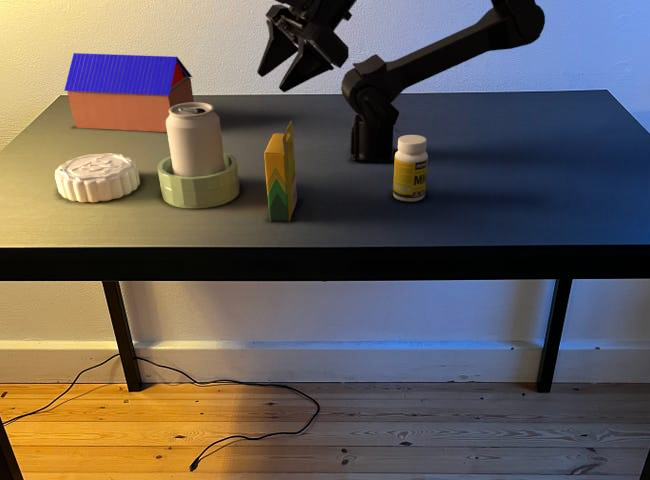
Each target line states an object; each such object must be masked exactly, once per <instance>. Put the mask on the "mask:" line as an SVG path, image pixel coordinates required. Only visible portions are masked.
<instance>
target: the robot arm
mask: <svg viewBox="0 0 650 480" xmlns="http://www.w3.org/2000/svg"><path fill="white" fill-rule="evenodd" d="M274 1H275V2H277V4H272V5H271V6H270V8H268V11H267V12H266V13H265V17H266V18H267V19H266V23H265V24H266V26H267V29H268V40H267V42H266V46H265V49H264V52H263V55H262V57H261V60H260V63H259V65H258V68H257V71H256V74H258V75H259V76H260V77H261V78H264V77H265V76H267V75H268V74H269V73H271V72H273V71H274V70H275V69H276V68H278V67H279V66H281V65H282V64H283V63H285V62H286V61H287V60H289V59H290V58H292V57H293V56H294V55H295V54H296V55H295V57H294V59H293V60H292V62H291V64H290V66H289V67H288V69H287V70H286V72H285V73H284V75H283V77H282V79H281V81H280V83H279V85H278V89H279V90H280V91H281V92H283V93H286V92H288V91H291V90H292V89H294V88H296V87H298V86H299V85H301V84H303V83H306V82H308V81H309V80H311V79H314V78H315V77H318V76H320V75H322V74H323V73H324V74H325V73H326V72H328V71H333V70H334V69H335V67H337V68H338V69H341V68H342V67H343V65H344V64H346V61H347V60H348V59H349V57H350V56H349V55H350V53H349V52H350V51H349V50H350V48H349V46H348V45H347V44H346V43H345V42H344V41H343V40H342V39H341V38H340V36H338V34H337V33H336V32H335V30H336V29H337V28H338V26H339V25H340V24H341V22H342V21H343V20H344V21H346V22H349V21H350V20H351V18H352V17H353V14H352V13H351V12H350V11H351V9H352V8H353V6H354V5H355V4H356V2H357V1H358V0H274ZM278 3H279V4H278ZM490 3H491V5H492V7H491V8H489V9H488V10H487V11H486V13H484V15H482V16H481V17H480V19H479V20H478V21H477V22H476V23H474V24H472V25H469V26H467V27H465V28H463V29H461V30H458V31H457V32H454V33H452V34H449V35H448V36H445V37H443V38H441V39H438V40H437V41H435V42H431V43H430V44H428V45H425V46H423V47H421V48H419V49H416V50H415V51H412V52H410V53H408V54H406V55H403V56H401V57H399V58H397V59H395V60H391V61H385V60H384V59H382V57H380V56H379V55H378V54H377V53H375V54H373V55H370V56H369V57H367V58H366V59H365V60H363V61H361V62H353V63H352V68H351V69H349V70H348V71H347V72H346V73H344V75H343V78H342V80H341V84H340V85H341V86H340V90H341V95H342V96H343V98H344V99H345V101H346V102H347V104H348V105H349V106H350V107H351V109H352V110H353V111H354V112H355V113H356V114H355V117H354V120H353V121H354V123H353V124H352V125H351V128H350V154H351V155H352V162H357V163H358V162H360V163H394V161H393V160H394V126H395V125H396V124H397V121H398V119H399V116H400V111H399V110H398V109H397V108H396V106H394V104H392V103H393V102H394V101H395V100H396V98H398V97H399V96H400V94H402V92H403V91H404V90H406V89H407V88H410V87H412V86H414V85H416V84H419V83H420V82H423V81H425V80H427V79H429V78H431V77H434V76H436V75H439V74H440V73H443V72H445V71H448V70H450V69H452V68H454V67H456V66H459V65H461V64H463V63H466V62H468V61H470V60H472V59H474V58H477V57H479V56H481V55H483V54H485V53H487V52H492V51H505V50H512V49H516V48H519V47H520V48H521V47H523V46H528V45H531V44H533V43H535V42H536V41H537V40H538V39H539V38H540V37H541V34H542V32H543V30H544V28H545V24H546V14H545V11H544V10H543V8H542V7H541V6H540V5H538V4H537V3H536V0H490ZM285 5H288V6H289V7H287V6H285ZM334 66H335V67H334Z"/></svg>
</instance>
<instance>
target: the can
mask: <svg viewBox="0 0 650 480" xmlns="http://www.w3.org/2000/svg"><path fill="white" fill-rule="evenodd" d="M214 110H215V107H214V106H213V105H212V104H210V103H207V102H199V101H194V102H189V103H182V104H178V105H175V106H173V107H171V108H170V109H169V113H170V115H169V117H168V118H167V119H166V127H167V132H166V133H167V139H168V145H169V146H168V147H169V152H170V156H171V159H172V165H173V172H174V175H176V176H182V177H200V176H208V175H212V174H216V173H219V172H222V171H224V170H225V164H224V155H223V152H224V147H223V138H222V129H221V120H220V116H219V115H218V114H217V113H215V112H214Z"/></svg>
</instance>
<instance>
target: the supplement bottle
mask: <svg viewBox="0 0 650 480" xmlns="http://www.w3.org/2000/svg"><path fill="white" fill-rule="evenodd" d="M427 143H428V142H427V138H426V137H425V136H422V135H418V134H405V135H402V136H400V137H398V140H397V151H396V152H395V154H394V161H393V163H394V165H393V166H394V167H393V184H392V195H393V197H394V198H395V199H396V200H399V201H402V202H409V203H411V202H412V203H413V202H419V201H420V200H423V199H424V198H425V196H426V186H427V175H428V174H427V173H428V161H429V155H428V152H426V150H427Z"/></svg>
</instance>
